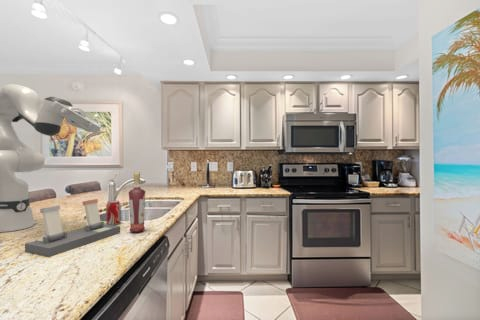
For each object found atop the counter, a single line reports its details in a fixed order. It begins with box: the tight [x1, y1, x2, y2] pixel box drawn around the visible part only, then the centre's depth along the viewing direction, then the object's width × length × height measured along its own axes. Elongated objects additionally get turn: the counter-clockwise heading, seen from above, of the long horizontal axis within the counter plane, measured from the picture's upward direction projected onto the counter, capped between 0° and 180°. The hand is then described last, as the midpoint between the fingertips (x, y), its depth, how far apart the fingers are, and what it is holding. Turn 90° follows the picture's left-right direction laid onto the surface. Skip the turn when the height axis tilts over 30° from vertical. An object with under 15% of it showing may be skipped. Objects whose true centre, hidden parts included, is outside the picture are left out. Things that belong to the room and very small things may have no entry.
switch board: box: [24, 221, 121, 258], centre depth 106 cm, size 14×31×5 cm, turn 158°
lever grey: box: [39, 205, 64, 241], centre depth 99 cm, size 2×6×13 cm, turn 158°
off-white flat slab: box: [81, 198, 102, 230], centre depth 114 cm, size 2×6×13 cm, turn 158°
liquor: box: [128, 171, 146, 234], centre depth 120 cm, size 7×7×28 cm
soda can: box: [105, 200, 122, 226], centre depth 134 cm, size 7×7×12 cm
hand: (77, 118), depth 109 cm, fingers open, 8 cm apart
